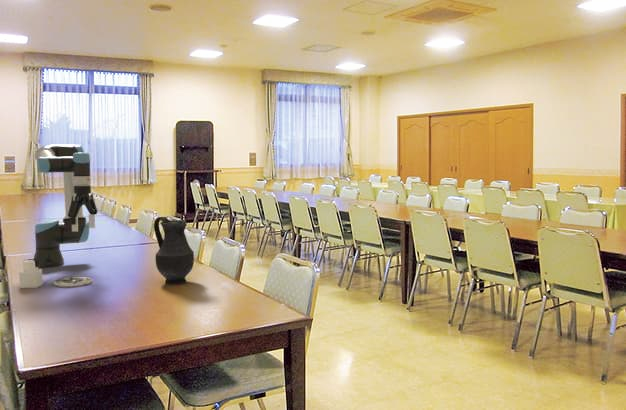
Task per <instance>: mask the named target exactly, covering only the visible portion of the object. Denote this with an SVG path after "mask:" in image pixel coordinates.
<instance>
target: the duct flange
mask: <svg viewBox="0 0 626 410" xmlns="http://www.w3.org/2000/svg"><path fill="white" fill-rule="evenodd" d="M92 283H93V279H92V278H91V277H88V276H70V277H65V278H64V277H63V278H58V279H57V280H54V281H53V286H54V287H58V288H77V287H83V286H87V285H90V284H92Z"/></svg>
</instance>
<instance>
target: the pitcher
mask: <svg viewBox="0 0 626 410" xmlns="http://www.w3.org/2000/svg"><path fill="white" fill-rule="evenodd" d="M187 224H188V223H187V220H183V219H182V220H181V219H179V220H177V219H173V220H172V219H169V218H167V217H166V216H158V217H156V218H155V220H154V223H153V230H154V234H155V237H156V241H157V244H158V247H159V249H158V251H157V252H156V253H155V266H156V269H157V271H158V272H159V274H160V275H161V276H162V277H163V278H165V281H164V283H165V284H167V285H181V284H186V282H187V279H186V277H187V276H188V275H189V274H190V273H191V271H192V270H193V267H194V264H195V252H194V250H193V249H192V248H191V247H190V245H189V243H188V242H189V241H188V240H187V236H186V234H185V230H186V227H187ZM160 225H161V227H162V230H163V233H164V234H163V235H164V237H163V236H162V232H161V229H160Z"/></svg>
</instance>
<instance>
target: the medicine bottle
mask: <svg viewBox="0 0 626 410" xmlns="http://www.w3.org/2000/svg"><path fill="white" fill-rule="evenodd" d="M42 285H43V269H42V268H39V267H38V260H36V259H34V258H29V259H25V260H23V261H22V271H20V272H19V288H20V289H37V288H39V287H40V286H42Z"/></svg>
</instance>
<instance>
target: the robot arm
mask: <svg viewBox="0 0 626 410" xmlns="http://www.w3.org/2000/svg"><path fill="white" fill-rule="evenodd" d="M34 154H35V155H34V159H35V161H36V164H37V165H36V166H37V167H36V168H37V172H38V173H43V174H47V173H62V174H63V190H64V191H63V192H64V208H65V216H64V217H63V218H62V221H61V222H60V221H59V219H50V220H44V221H43V220H42V221H40V222H37V223H36V224H35V225H34V236H35V240H34V241H35V251H34V252H35V253H34V255H33V259H36V260H38V268H49V267H50V268H51V267H52V268H53V267H56V266H61V265H64V264H65V259H64V257H63V254H62V251H61V247H60V246H61V245H67V244H80V243H86V242H87V241H88V240H89V235H90V229H95V228H96V223H95V222H96V221H95V220H96V218H95V217H96V215H97V214H98V208H97V206H96V203H95V199H94V194H91V193H92V189H91V188H92V187H91V180H92V179H91V159H90V157H91V156H90V153H89V152H85V151H84V149H83V146H82V145H80V144H54V143H53V144H46V145H43V146H41V147H39V148H38V149H36V151H35V153H34ZM83 206H85V208H86V209H87V211H88V213H89V214H88V220H87V217H86V216H85V215H83Z"/></svg>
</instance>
